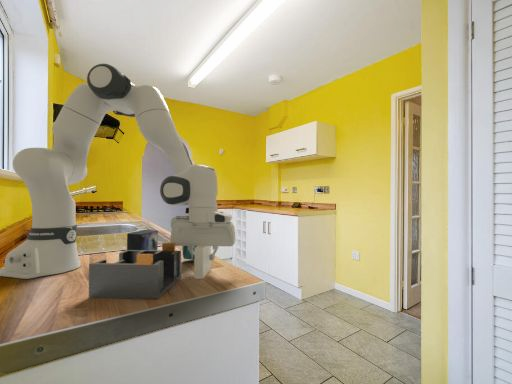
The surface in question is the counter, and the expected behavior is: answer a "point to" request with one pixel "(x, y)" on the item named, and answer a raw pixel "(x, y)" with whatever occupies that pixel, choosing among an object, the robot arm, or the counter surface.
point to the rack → (136, 274)
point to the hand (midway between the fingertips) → (203, 259)
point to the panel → (202, 261)
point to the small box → (142, 240)
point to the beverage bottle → (185, 250)
